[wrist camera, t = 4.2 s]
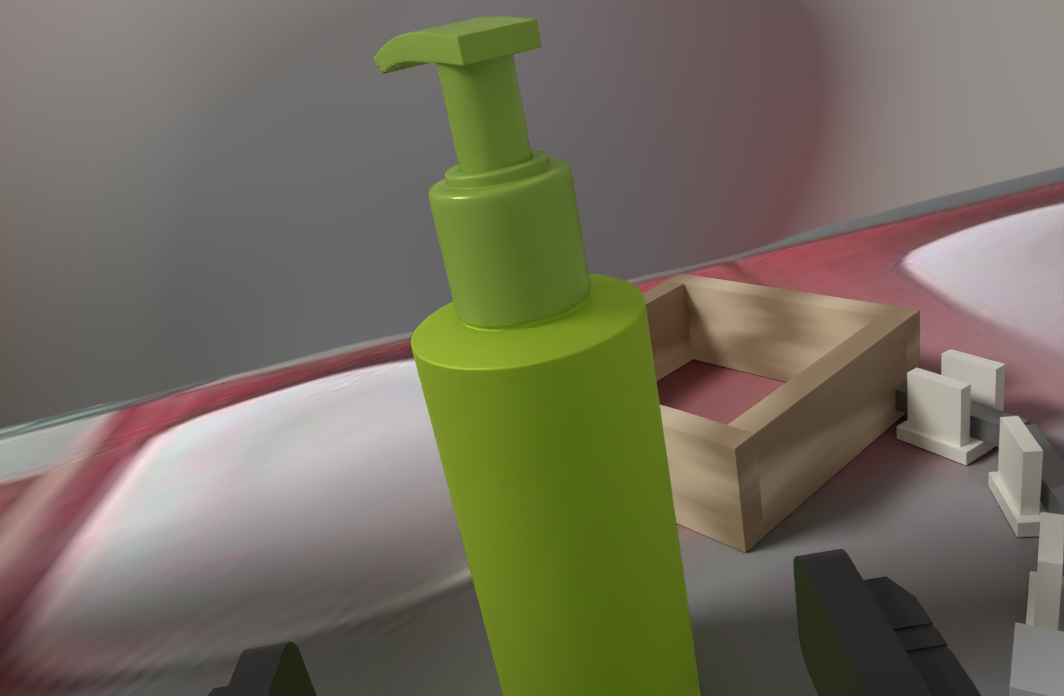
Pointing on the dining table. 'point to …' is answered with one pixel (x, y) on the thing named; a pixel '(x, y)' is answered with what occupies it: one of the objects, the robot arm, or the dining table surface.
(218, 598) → the dining table surface
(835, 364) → the open square wooden frame
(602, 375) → the soap dispenser
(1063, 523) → the cable route
